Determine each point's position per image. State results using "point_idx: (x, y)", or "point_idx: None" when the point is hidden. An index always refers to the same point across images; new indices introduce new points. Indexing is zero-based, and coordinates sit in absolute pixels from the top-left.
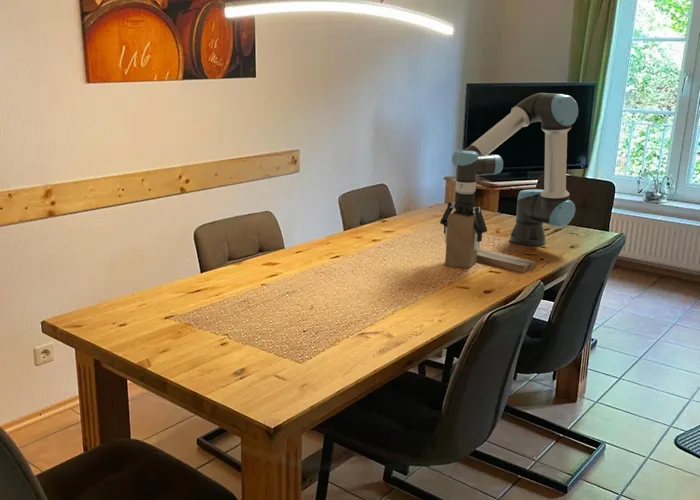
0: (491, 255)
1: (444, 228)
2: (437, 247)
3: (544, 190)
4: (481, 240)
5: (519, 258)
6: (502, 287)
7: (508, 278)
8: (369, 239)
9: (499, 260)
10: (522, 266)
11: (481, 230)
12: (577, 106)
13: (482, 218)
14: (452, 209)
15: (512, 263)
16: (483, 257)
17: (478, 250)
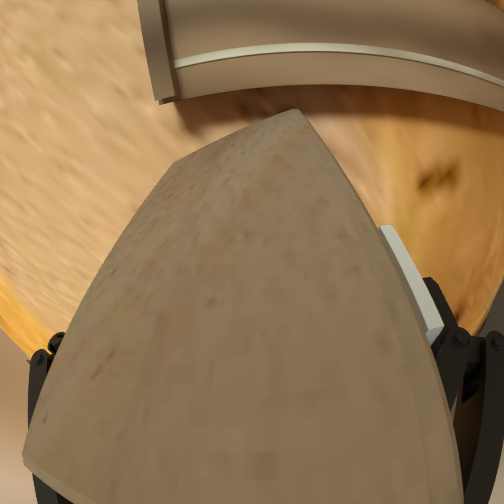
0: (353, 29)
1: None
2: (16, 111)
3: None
4: (434, 281)
5: (474, 3)
6: (480, 280)
7: (488, 207)
8: None
9: (438, 94)
10: None
11: (465, 380)
12: None
13: (490, 462)
14: (57, 493)
15: (494, 107)
16: (332, 83)
17: (210, 2)
